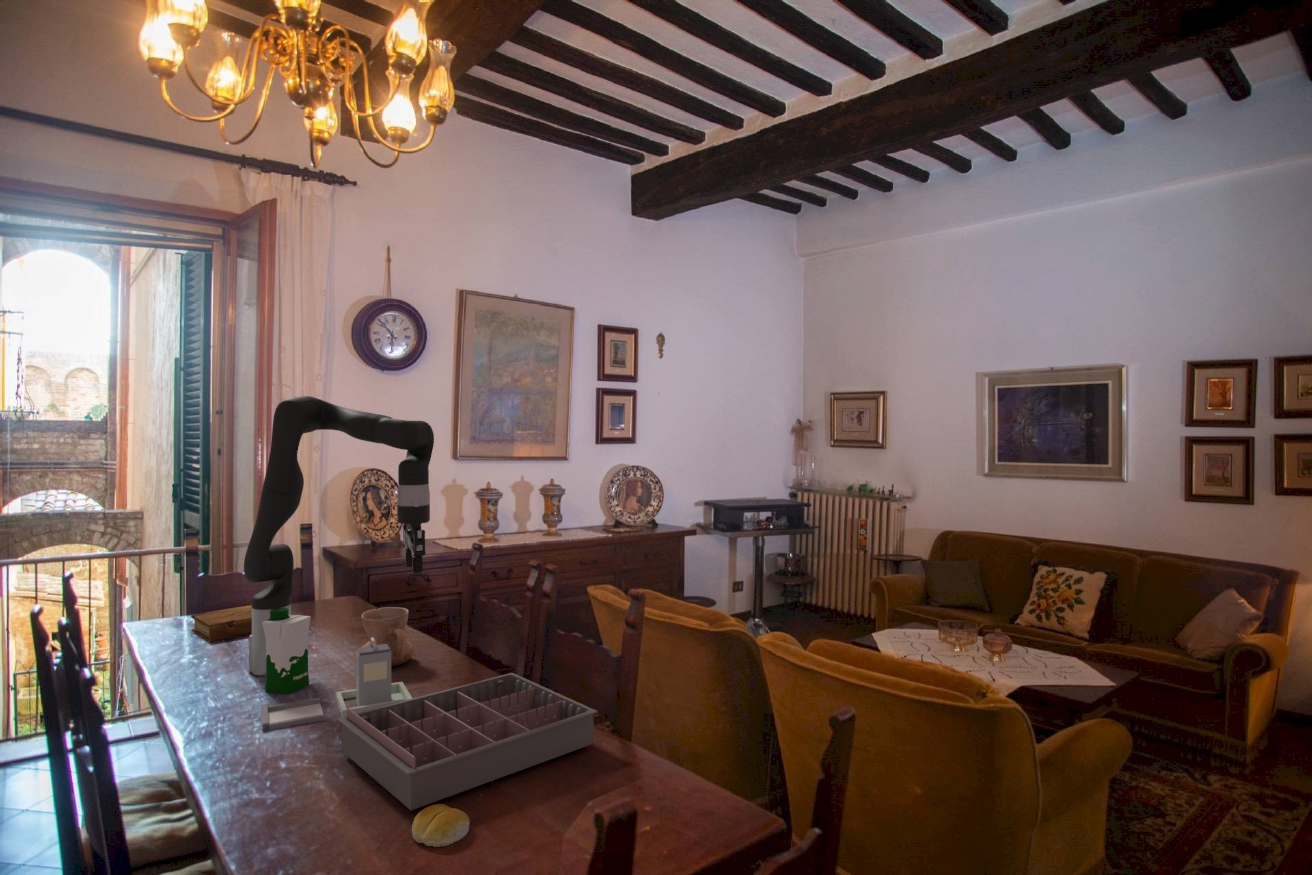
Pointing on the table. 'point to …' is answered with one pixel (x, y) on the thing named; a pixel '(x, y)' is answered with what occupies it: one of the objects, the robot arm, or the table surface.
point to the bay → (291, 714)
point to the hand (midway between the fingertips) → (413, 569)
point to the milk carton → (286, 651)
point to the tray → (397, 695)
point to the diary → (223, 623)
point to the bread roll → (440, 825)
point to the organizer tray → (464, 736)
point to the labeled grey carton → (373, 674)
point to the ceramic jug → (389, 631)
